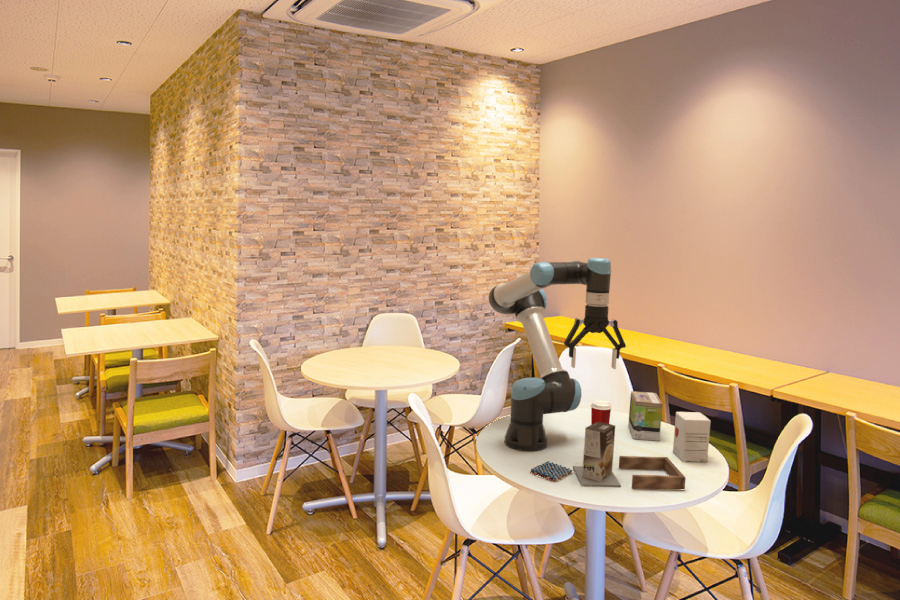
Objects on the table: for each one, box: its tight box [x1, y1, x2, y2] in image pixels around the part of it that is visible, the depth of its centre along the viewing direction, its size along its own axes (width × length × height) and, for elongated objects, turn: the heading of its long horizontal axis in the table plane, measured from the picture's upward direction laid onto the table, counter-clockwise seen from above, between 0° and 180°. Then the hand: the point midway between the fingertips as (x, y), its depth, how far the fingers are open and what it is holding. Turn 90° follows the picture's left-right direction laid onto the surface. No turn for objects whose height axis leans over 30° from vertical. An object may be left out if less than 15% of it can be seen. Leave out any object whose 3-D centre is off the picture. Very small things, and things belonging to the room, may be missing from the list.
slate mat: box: [572, 465, 622, 488], centre depth 199 cm, size 12×14×1 cm
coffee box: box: [582, 422, 616, 482], centre depth 198 cm, size 9×6×16 cm
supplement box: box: [672, 411, 712, 463], centre depth 217 cm, size 9×9×15 cm
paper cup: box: [589, 400, 613, 425], centre depth 232 cm, size 8×8×14 cm
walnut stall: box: [618, 455, 687, 490], centre depth 199 cm, size 16×16×4 cm
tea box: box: [627, 390, 663, 442], centre depth 240 cm, size 15×10×15 cm
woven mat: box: [529, 460, 573, 484], centre depth 201 cm, size 10×11×2 cm
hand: (593, 367), depth 211 cm, fingers open, 13 cm apart
